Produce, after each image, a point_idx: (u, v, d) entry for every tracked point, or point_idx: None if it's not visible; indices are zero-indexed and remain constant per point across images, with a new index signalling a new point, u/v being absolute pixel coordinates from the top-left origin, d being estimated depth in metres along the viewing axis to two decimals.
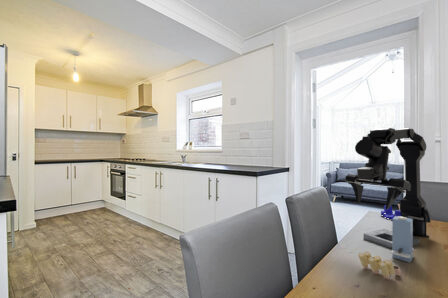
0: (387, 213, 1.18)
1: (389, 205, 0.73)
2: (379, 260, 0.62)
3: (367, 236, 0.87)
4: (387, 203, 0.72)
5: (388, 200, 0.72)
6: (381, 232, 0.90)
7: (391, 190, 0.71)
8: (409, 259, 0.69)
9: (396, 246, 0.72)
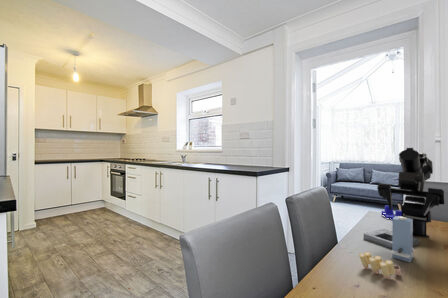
0: (388, 213, 1.18)
1: (426, 212, 0.75)
2: (380, 260, 0.62)
3: (367, 236, 0.87)
4: (425, 209, 0.75)
5: (426, 206, 0.75)
6: (381, 232, 0.90)
7: (430, 197, 0.76)
8: (409, 259, 0.69)
9: (396, 246, 0.72)
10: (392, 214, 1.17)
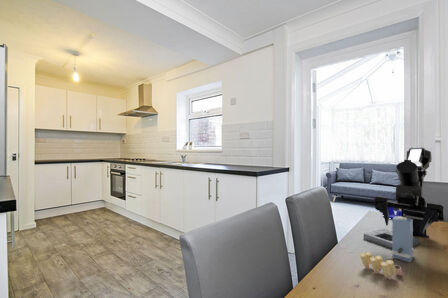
0: (389, 213, 1.18)
1: (424, 228, 0.71)
2: (380, 260, 0.62)
3: (367, 236, 0.87)
4: (423, 225, 0.71)
5: (424, 222, 0.71)
6: (381, 232, 0.90)
7: (429, 212, 0.71)
8: (409, 259, 0.69)
9: (396, 246, 0.72)
10: (393, 214, 1.17)
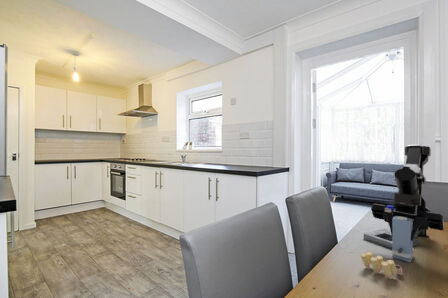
0: None
1: (414, 236, 0.70)
2: (381, 260, 0.62)
3: (367, 236, 0.87)
4: (413, 233, 0.70)
5: (414, 230, 0.70)
6: (381, 232, 0.90)
7: (419, 220, 0.71)
8: (409, 259, 0.69)
9: (396, 246, 0.72)
10: None
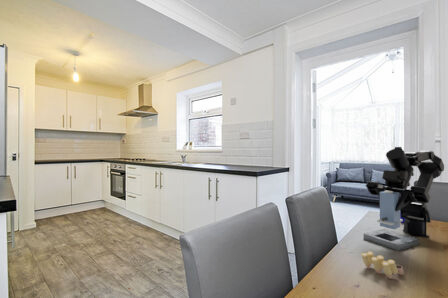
0: None
1: (399, 207, 0.79)
2: (382, 259, 0.62)
3: (367, 236, 0.87)
4: (397, 205, 0.79)
5: (399, 202, 0.79)
6: (381, 232, 0.90)
7: (404, 193, 0.79)
8: (393, 227, 0.79)
9: (383, 216, 0.82)
10: None
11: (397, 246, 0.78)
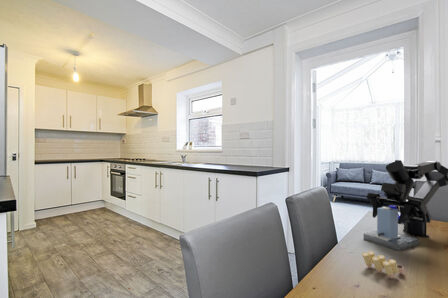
0: None
1: (401, 220, 0.80)
2: (383, 259, 0.63)
3: (367, 236, 0.87)
4: (400, 218, 0.81)
5: (402, 215, 0.81)
6: None
7: (407, 207, 0.80)
8: None
9: (380, 231, 0.85)
10: None
11: (397, 246, 0.78)
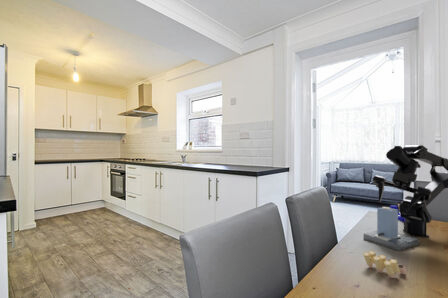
0: None
1: (410, 208, 0.86)
2: (384, 259, 0.63)
3: (367, 236, 0.87)
4: (409, 206, 0.86)
5: (411, 203, 0.86)
6: None
7: (417, 196, 0.85)
8: None
9: (380, 231, 0.85)
10: (398, 214, 1.18)
11: (397, 246, 0.78)
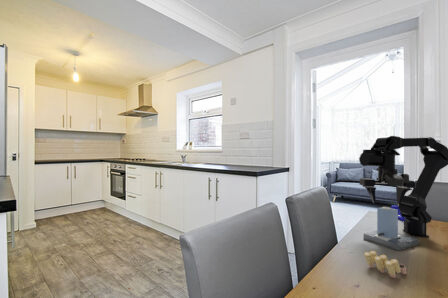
0: None
1: None
2: (385, 259, 0.63)
3: (367, 236, 0.87)
4: (400, 200, 0.91)
5: (401, 198, 0.91)
6: None
7: (406, 190, 0.89)
8: None
9: (380, 231, 0.85)
10: (399, 214, 1.18)
11: (397, 246, 0.78)
